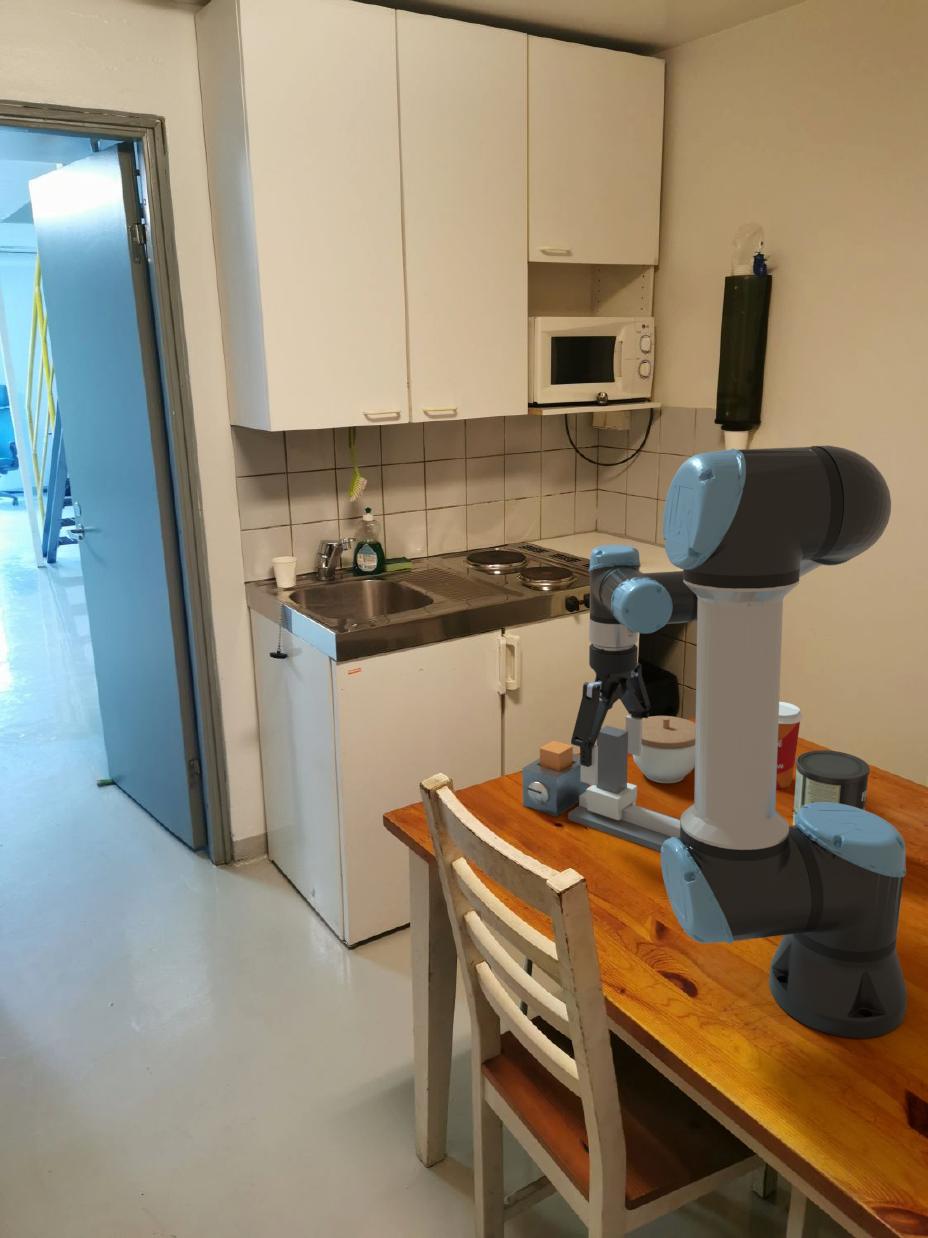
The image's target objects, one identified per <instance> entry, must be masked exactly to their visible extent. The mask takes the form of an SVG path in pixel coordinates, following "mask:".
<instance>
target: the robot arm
mask: <svg viewBox="0 0 928 1238" xmlns="http://www.w3.org/2000/svg"><path fill="white" fill-rule="evenodd" d="M666 495H667V496H666V499H665V503H664V508H663V509H664V510H663V520H662V521H663V522H662V536H663V541H665V544H664V550H665V552H666V556H667V558H668V560H669V562H670V563H671V564H672V565H673V566H674V567H675V568H679V569H681V570H679V571H678V570H675V571H659V572H646V573H645V572H642V571H640V567H641V566H642V565H641V561H640V551H639V550H638V549H637V548H636V547H634V546H630V545H626V544H625V545H624V544H608V545H607V544H606V545H600V546H598V547H595V548H593V549H592V551H591V552H590V559H589V568H588V573H589V626H588V627H589V629H588V630H589V631H588V632H589V633H588V641H589V642H590V643H591V644H590V645H589V647H588V648H589V649H588V651H589V654H588V655H589V656H588V658H589V661H588V664H589V667H590V669H592V670H593V672H594V673H595V678H594V682H587V681H585V682H584V683H583V685H582V695H581V697H582V698H581V701H580V706H579V709H578V712H577V716H576V719H575V723H574V728H573V731H572V736H571V740H570V744H571V746H576V747H579V749H580V750H579V755H580V764H581V782H585V783H588V784H589V785H591V786H592V785H594V786H595V785H597V784H598V746H597V744H596V743H597V737H598V735H599V732H600V730H601V729H602V728H603V724H604V721H605V720H606V717H607V713H608V712H609V710H611V709H612V708H613V706H614V704H615V703H617V701H618V700H620V701H621V703H622V704H623V707H624V708H625V710H626V711H627V713H628V714H629V715H628V714H627V715H626V716H625V728H624V730H626V731H628V755H629V754H630V755H632V756H633V755H636V756H641V750H642V718H648V717H650V712H649V710H650V709H651V702H650V699H649V696H648V692H647V689H646V685H645V682H644V678H643V676H642V675H643V673H642V672H643V671H642V664H641V663H639V662H638V653H639V652H638V651H639V650H638V646H637V645H636V644H637V643H638V636H639V635H638V634H653V633H654V632H657V631H659V630H660V629H662V628H663V627H665V626H666V625H669V624H682V623H683V624H684V623H685V624H686V623H691V622H696V623H697V625H696V626H697V627H696V670H695V671H696V675H695V676H696V680H695V682H696V683H695V686H696V687H695V689H696V690H695V723H696V733H695V767H694V803H693V804H692V805H691V806H689V807H688V808H686V809H685V811H683V812H682V814H681V815H680V818H679V819H680V837H679V838H677V837H671V838H670V839H667V840H665V841H664V843H663V846H662V848H661V852H660V866H661V873H662V878H663V883H664V887H665V890H666V894H667V897H668V900H669V903H670V905H671V909H672V911H673V913H674V915H675V917H676V920H677V921H678V923H679V926H680V927H681V928H682V930H683V931H684V933H685V934H686V935H687V936H688V937H689V938H690V939H692V940H693V941H694V942H697V943H700V944H715V943H726V944H733V943H734V942H738V941H746V940H747V941H748V940H754V939H755V940H756V939H763V938H771V937H777V936H782V938H781V940H780V942H779V944H778V946H777V948H776V950H775V952H774V954H773V957H772V958H771V962H770V966H769V977H768V987H769V989H770V993H771V995H772V997H773V998H774V999H773V1000H775V1002H776V1003H777V1004H778V1005H779V1006H780V1008H781V1009H782V1010H783V1011H784V1012H786V1013H787V1014H788V1015H789V1016H791V1017H792V1018H794V1019H795V1020H796V1021H797V1022H799V1023H801V1024H803V1025H805V1026H807V1027H810V1028H811V1029H815V1030H817V1031H818V1032H819V1031H820V1032H823V1033H824V1034H829V1035H832V1036H837V1037H840V1038H841V1037H842V1038H851V1039H868V1038H875V1037H876V1038H877V1037H879V1036H883V1035H885V1034H889V1033H890V1032H892V1031H894V1030H895V1029H897V1028H898V1027H899V1026H900V1025H901V1024H902V1022H903V1021H904V1018H905V1016H906V1011H907V1001H908V993H907V992H908V991H907V986H906V983H905V979H904V975H903V971H902V967H901V963H900V959H899V956H898V953H897V950H896V946H897V937H898V930H899V920H900V911H901V905H902V904H901V903H902V893H903V884H904V877H905V876H906V874H907V868H906V843H905V842H906V841H905V839H904V837H903V836H902V834H901V833H900V832H899V830H898V829H897V828H896V827H895V826H894V825H893V824H892V823H889V821H887V820H885V819H884V818H882V817H880V816H878V815H877V814H875V813H872V812H869V811H867V810H866V809H865V810H862V809H859V808H856V807H853V806H849V805H845V804H839V803H832V802H814V803H809V804H806V805H804V806H803V807H802V808H801V809H799V810H798V813H797V815H796V816H795V823H796V824H795V825H794V826H793V825H791V826H790V825H789V823H788V821H787V820H786V819H785V818H784V817H783V816H782V815H781V814H780V813H779V812H778V811H777V810H776V805H777V804H776V801H777V800H776V798H777V789H776V777H777V750H778V722H779V702H780V695H781V694H780V690H781V687H780V686H781V667H782V665H781V663H782V640H783V639H782V638H783V637H782V636H783V635H782V633H783V609H784V608H783V605H784V598H785V597H786V596H787V595H788V594H789V593H790V592H791V591H793V590H794V588H796V587H797V586H798V585H799V584H800V578H801V577H803V576H805V575H807V574H808V573H810V572H813V571H814V570H816V569H817V568H819V567H821V566H829V567H830V566H838V565H841V564H845V563H847V562H849V561H851V560H852V559H854V558H856V557H858V556H860V555H861V554H863V553H864V552H866V551H868V550H869V549H871V547H873V545H875V544H876V543H877V542H878V540H879V539H881V536H883V534H884V532H885V530H886V528H887V526H888V525H889V521H890V518H891V512H892V511H891V510H892V499H891V492H890V489H889V486H888V483H887V481H886V479H885V478H884V476H883V474H882V473H881V472H880V470H879V469H878V468H877V467H876V466H875V465H874V463H872V462H871V461H870V460H868V459H867V458H866V457H865V456H864V455H861V454H859V453H857V452H856V451H853V450H850V449H847V448H844V447H839V446H834V445H812V446H799V447H796V446H795V447H775V448H773V447H772V448H771V447H770V448H769V447H768V448H748V449H747V448H745V449H737V448H730V449H723V450H718V451H710V452H702V453H698V454H695V455H692V456H690V457H689V458H687V459H686V460H685V461H684V462H683V463H682V464H681V465H680V467H679V468H678V470H677V471H676V473H675V475H674V477H673V478H672V481H671V483H670V486H669V489H668V491H667V494H666Z"/></svg>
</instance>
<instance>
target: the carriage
mask: <svg viewBox="0 0 928 1238" xmlns="http://www.w3.org/2000/svg"><path fill="white" fill-rule="evenodd" d="M596 746H598V784H597V785H595V786H594V785H591V786H590V785H589V788H587V789H586V803H587V810H589V811H592V812H595V813H598V814H601V815H604V816H606V817H609V818H612V819H615V820H618V821H619V820H620V819H621V818H622V809H624V808H625V807H627V806H628V805H629V804H630V805H633V806H637V805H636V804H637V800H638V785H636V784H633V783H629V782H628V765H629V764H628V759H629V758H628V755H629V753H628V731H626V730H625V729H622V728H618V727H614V726H610V725H605V726H602V727H601V730H600V732H599V735H598V737H597V740H596Z"/></svg>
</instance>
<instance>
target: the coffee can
mask: <svg viewBox="0 0 928 1238" xmlns="http://www.w3.org/2000/svg"><path fill="white" fill-rule="evenodd" d="M795 766H796V771H795V773H796V774H795V785H794V786H795V787H794V789H795V790H794V804H793V817H792V826H794V825H795V824H796V823H795V816H796V815H797V813H798V810H799V809H801V808H802V807H803V806H804V805H806V804H809V803H814V802H832V803H839V804H845V805H849V806H853V807H856V808H859V809H862V810H865V811H866V802H867V793H868V783H869V782H868V781H869V780H868V779H869V775H870V771H871V769H870V766H869V764H868V763H867V762H866V761H865V760H863V759H862V758H860V757H857V756H855V755H853V754H851V753H850V754H849V753H845V752H841V751H836V750H828V749H827V750H825V749H823V750H822V749H821V750H811V751H806V752H803V753H801V754H799V755H798V756H797V757H796V758H795Z"/></svg>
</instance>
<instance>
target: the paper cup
mask: <svg viewBox="0 0 928 1238" xmlns="http://www.w3.org/2000/svg"><path fill="white" fill-rule="evenodd" d="M802 720H803V715H802V713H801V709H800V707H798V706H797V705H795V704H793V703H789V702H785V701H779V722H778V750H777V777H776V790H777V789H785V788H789V787H790V786H792V785H791V784H792V781H793V775H794V768H795V763H796V754H797V747H798V739H799V734H800V733H799V732H800V726H801V721H802Z"/></svg>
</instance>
